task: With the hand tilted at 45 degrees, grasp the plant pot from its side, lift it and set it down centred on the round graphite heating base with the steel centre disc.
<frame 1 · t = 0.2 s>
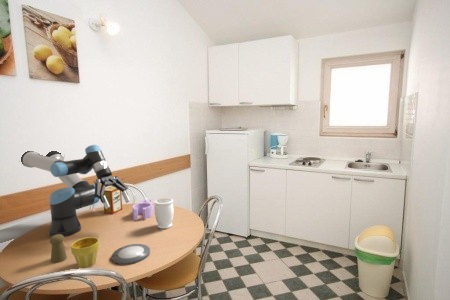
hand: (118, 204, 139), 16 cm above the table, tool tilted 35°, fingers open, 13 cm apart
baking soda box: (113, 211, 175), on the table
cork: (58, 259, 115), on the table
jar: (165, 226, 149), on the table
heating base: (131, 254, 117), on the table
clip: (144, 214, 169), on the table
plant pot: (87, 264, 110), on the table
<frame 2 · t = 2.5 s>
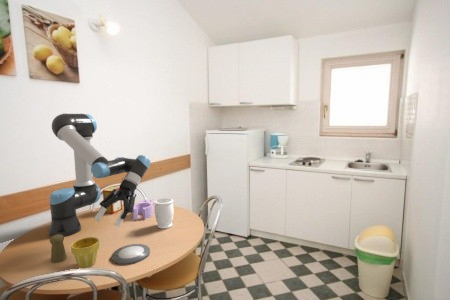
hand: (106, 223, 118), 14 cm above the table, tool tilted 45°, fingers open, 13 cm apart
nothing on the table moved.
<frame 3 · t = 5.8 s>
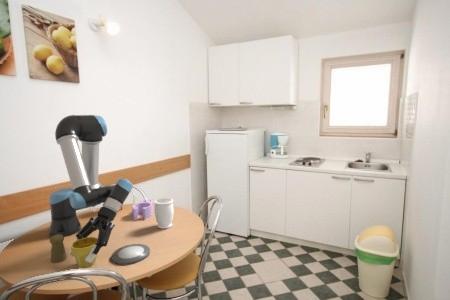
hand: (79, 258, 107), 4 cm above the table, tool tilted 45°, fingers closed on plant pot, 10 cm apart
plant pot: (87, 264, 110), on the table, touching gripper
everything else where it was.
when the fingers open (6 cm above the table, at t = 11.8 s): plant pot stays where it is, resting on heating base.
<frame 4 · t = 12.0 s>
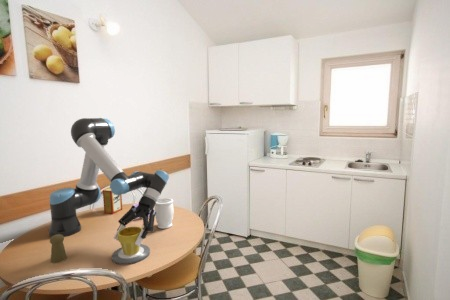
hand: (126, 242, 114), 7 cm above the table, tool tilted 45°, fingers open, 12 cm apart
plant pot: (131, 252, 117), point 1 cm above the table, touching heating base
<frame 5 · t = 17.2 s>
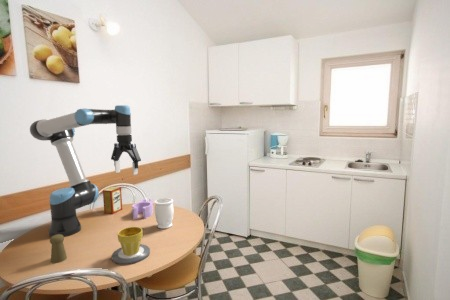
hand: (126, 173, 142), 32 cm above the table, tool pointing down, fingers open, 13 cm apart
at the end: plant pot 0.1 cm off-centre on the heating base, point 1.2 cm above the heating base's base; plant pot tilted 0°; the gripper is holding nothing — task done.
